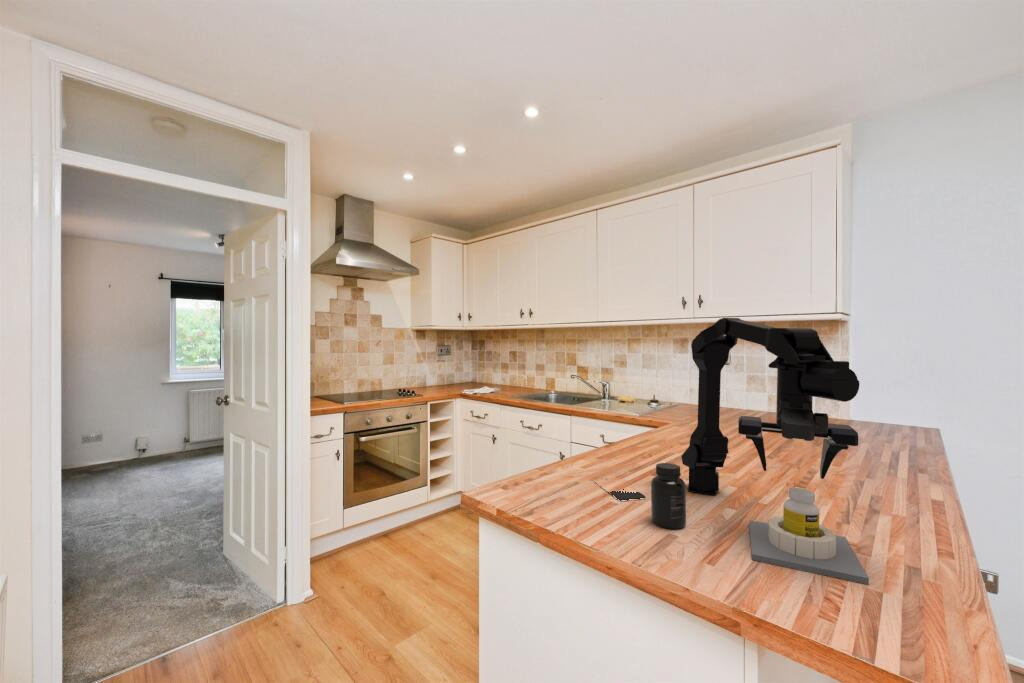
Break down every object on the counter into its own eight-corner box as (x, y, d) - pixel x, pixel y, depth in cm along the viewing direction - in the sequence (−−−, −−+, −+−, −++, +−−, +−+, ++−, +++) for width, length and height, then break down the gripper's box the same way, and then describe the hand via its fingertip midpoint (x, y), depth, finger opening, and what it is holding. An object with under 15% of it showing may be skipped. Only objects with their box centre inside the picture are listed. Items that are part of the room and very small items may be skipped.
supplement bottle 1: (684, 518, 91) (685, 463, 91) (686, 532, 85) (687, 472, 85) (651, 514, 94) (651, 459, 93) (650, 527, 87) (651, 468, 87)
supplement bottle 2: (808, 554, 74) (808, 498, 74) (776, 541, 79) (777, 488, 79) (825, 548, 76) (825, 493, 76) (794, 535, 81) (794, 484, 81)
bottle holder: (751, 559, 74) (752, 536, 74) (749, 524, 88) (749, 505, 88) (868, 584, 67) (869, 559, 67) (845, 542, 81) (845, 521, 81)
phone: (617, 478, 117) (647, 497, 103) (617, 481, 117) (647, 500, 102) (592, 480, 115) (619, 499, 101) (592, 483, 115) (619, 503, 101)
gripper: (739, 394, 79) (737, 478, 79) (867, 403, 70) (865, 497, 70) (739, 388, 89) (737, 462, 89) (851, 395, 80) (849, 477, 80)
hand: (792, 474), depth 82 cm, fingers open, 9 cm apart
